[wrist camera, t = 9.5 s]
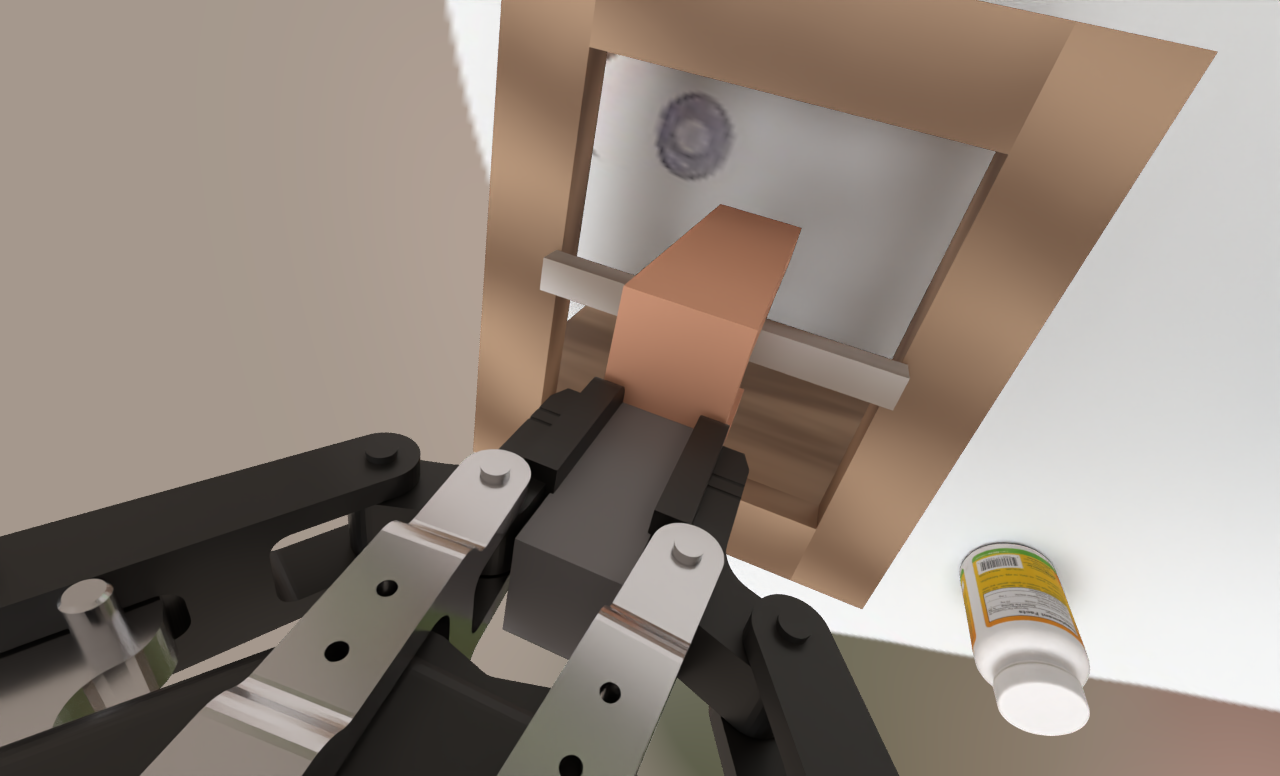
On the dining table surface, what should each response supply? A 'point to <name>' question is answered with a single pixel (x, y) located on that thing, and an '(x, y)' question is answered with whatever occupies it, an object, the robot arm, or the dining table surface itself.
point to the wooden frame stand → (786, 356)
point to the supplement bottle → (1025, 639)
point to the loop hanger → (648, 418)
